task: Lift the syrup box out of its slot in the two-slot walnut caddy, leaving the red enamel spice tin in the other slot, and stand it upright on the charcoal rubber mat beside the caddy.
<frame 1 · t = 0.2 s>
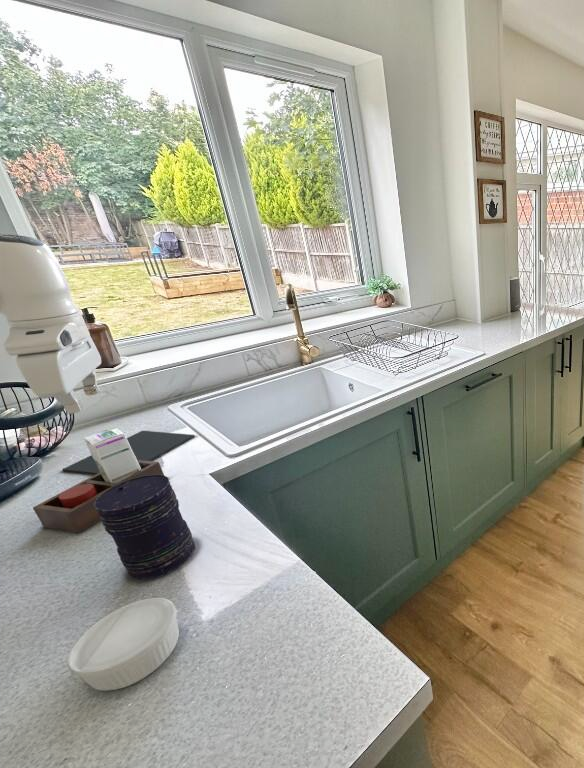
hand: (85, 402, 78), 26 cm above the worktop, tool pointing down, fingers open, 8 cm apart
ramekin: (138, 658, 58), on the worktop
mat: (133, 452, 110), on the worktop
caddy: (109, 501, 91), on the worktop
spice tin: (88, 514, 87), resting in caddy
syrup box: (129, 490, 95), resting in caddy
dark blue cylinder: (163, 559, 75), on the worktop
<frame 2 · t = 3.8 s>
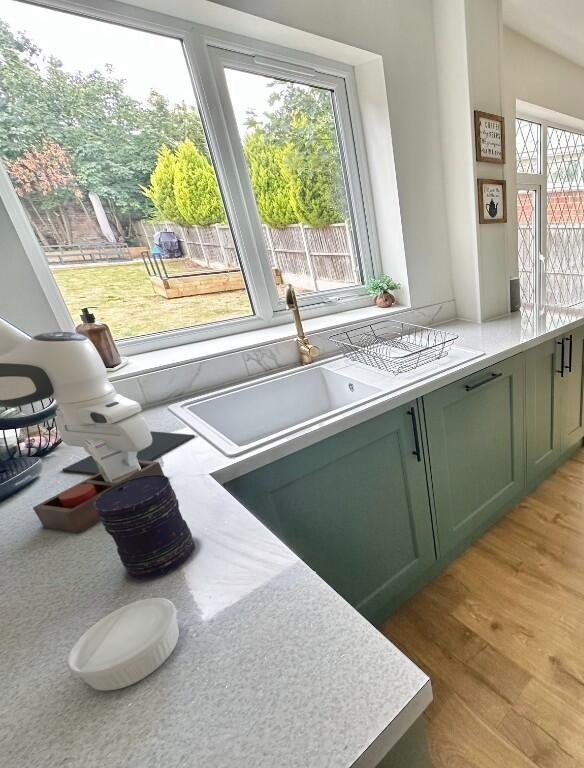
hand: (117, 463, 92), 7 cm above the worktop, tool pointing down, fingers closed on syrup box, 7 cm apart
syrup box: (129, 490, 95), resting in caddy, touching gripper
everything else where it was.
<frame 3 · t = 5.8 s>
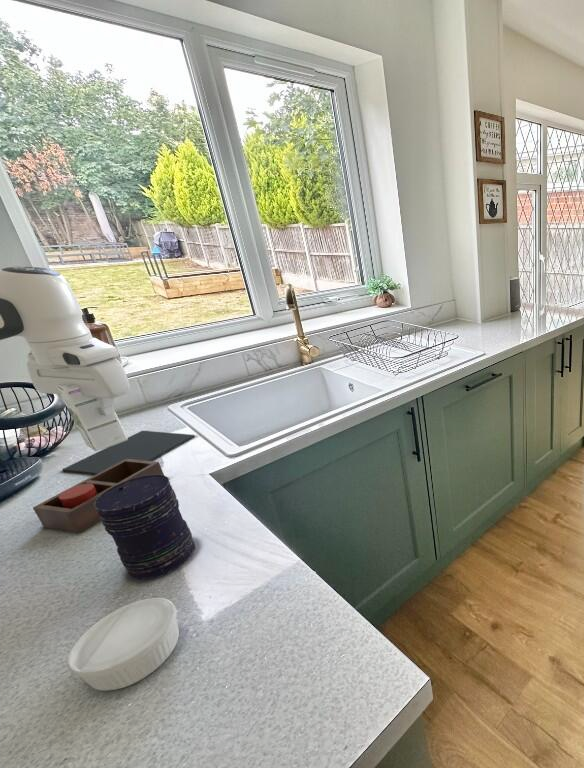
hand: (93, 413, 87), 20 cm above the worktop, tool pointing down, fingers closed on syrup box, 6 cm apart
syrup box: (107, 443, 90), point 12 cm above the worktop, touching gripper
everything else where it was.
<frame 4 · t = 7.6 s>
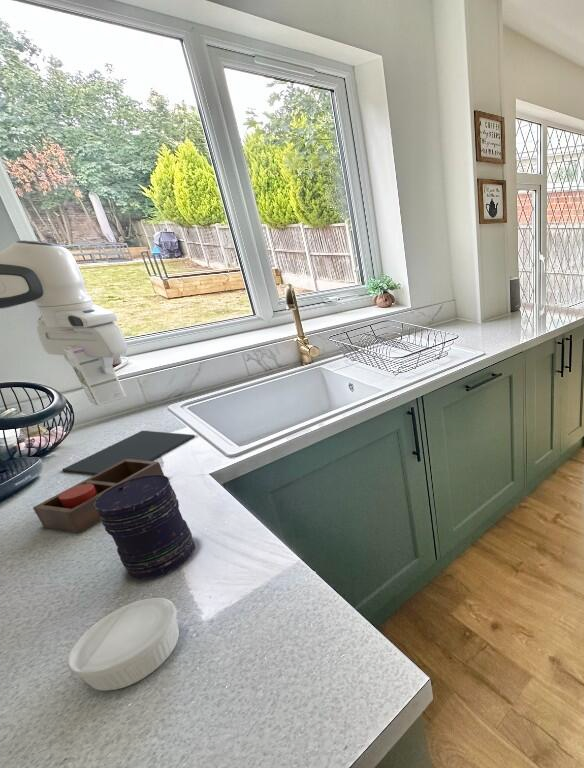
hand: (95, 372, 99), 24 cm above the worktop, tool pointing down, fingers closed on syrup box, 6 cm apart
syrup box: (108, 400, 102), point 16 cm above the worktop, touching gripper
everything else where it was.
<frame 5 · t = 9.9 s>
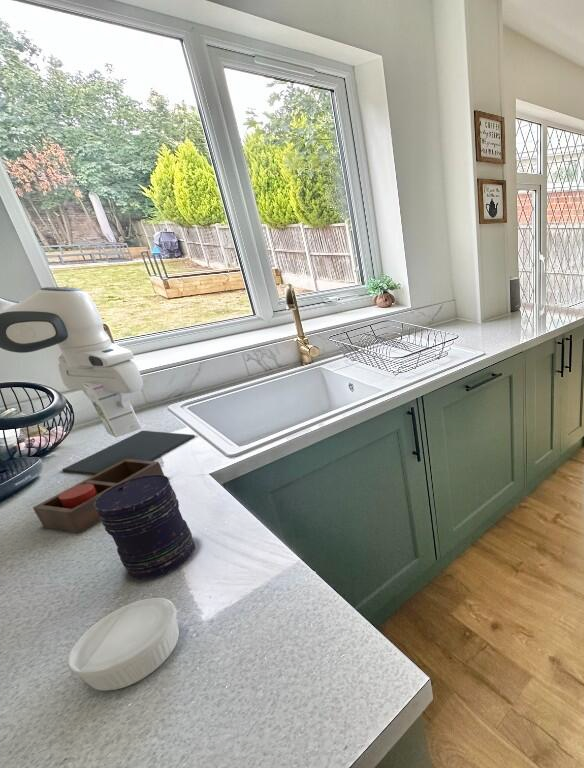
hand: (112, 406, 105), 14 cm above the worktop, tool pointing down, fingers closed on syrup box, 6 cm apart
syrup box: (124, 431, 108), point 6 cm above the worktop, touching gripper
everything else where it was.
when the fingers open (8 cm above the worktop, at t = 11.9 s): syrup box stays where it is, resting on mat.
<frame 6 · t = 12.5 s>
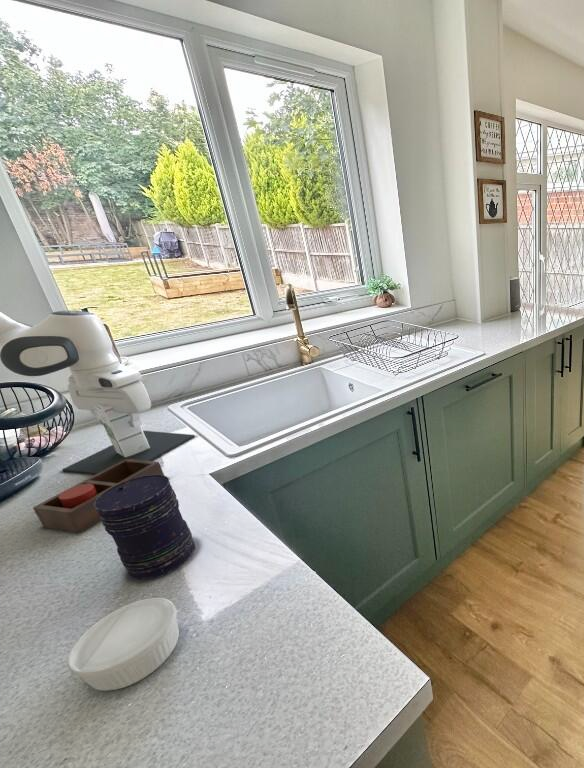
hand: (121, 425, 107), 8 cm above the worktop, tool pointing down, fingers open, 8 cm apart
syrup box: (133, 451, 110), resting on mat
everything else where it was.
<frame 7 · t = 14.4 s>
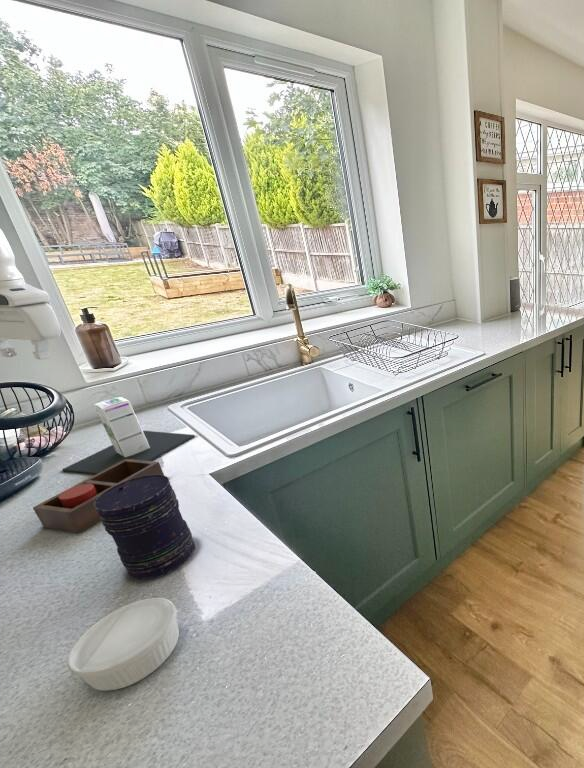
hand: (26, 357, 91), 30 cm above the worktop, tool pointing down, fingers open, 8 cm apart
nothing on the worktop moved.
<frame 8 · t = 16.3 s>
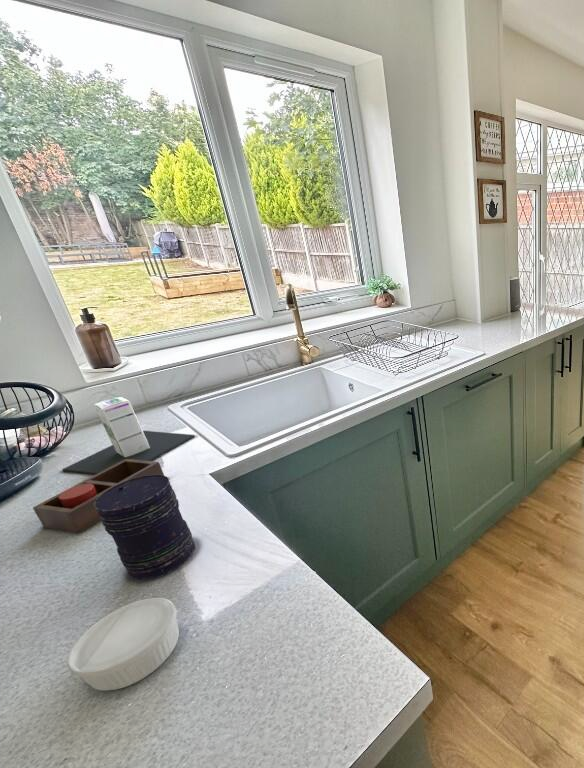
nothing on the worktop moved.
at the end: syrup box inside the target area on the mat (0.1 cm from its centre), point 0.4 cm above the mat's base; syrup box tilted 0°; the gripper is holding nothing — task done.
